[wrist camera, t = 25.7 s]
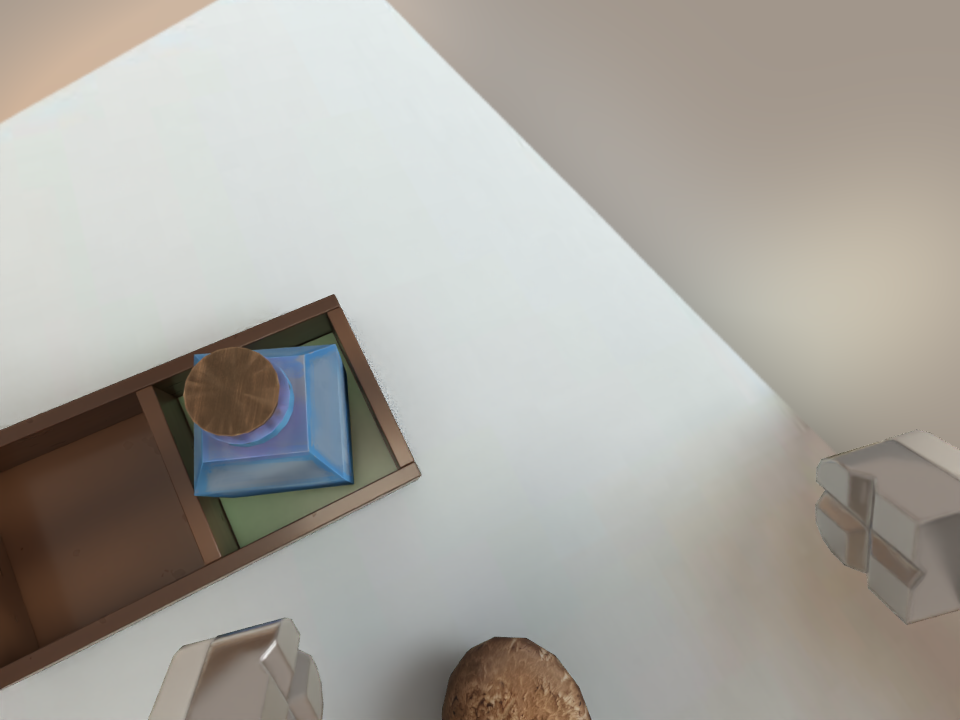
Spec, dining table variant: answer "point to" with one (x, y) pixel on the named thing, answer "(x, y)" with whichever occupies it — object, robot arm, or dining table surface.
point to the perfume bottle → (269, 420)
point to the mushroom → (512, 684)
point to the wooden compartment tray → (157, 499)
